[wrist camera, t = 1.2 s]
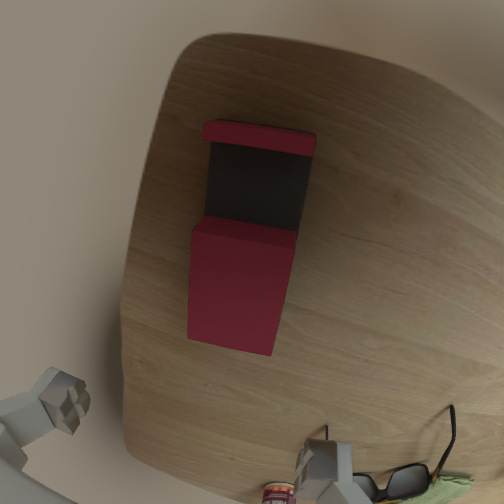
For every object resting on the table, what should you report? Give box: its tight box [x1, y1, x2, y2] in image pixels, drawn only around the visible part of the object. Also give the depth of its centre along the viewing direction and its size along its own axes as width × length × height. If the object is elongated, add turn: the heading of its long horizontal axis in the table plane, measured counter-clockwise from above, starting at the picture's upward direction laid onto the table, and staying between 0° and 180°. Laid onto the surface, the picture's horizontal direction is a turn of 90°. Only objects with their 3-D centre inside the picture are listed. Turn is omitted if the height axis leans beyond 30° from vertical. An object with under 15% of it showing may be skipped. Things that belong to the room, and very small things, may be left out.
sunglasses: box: [326, 405, 456, 504], centre depth 29 cm, size 14×15×5 cm
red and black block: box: [188, 119, 316, 356], centre depth 20 cm, size 14×6×4 cm, turn 172°
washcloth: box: [378, 476, 475, 504], centre depth 35 cm, size 13×18×3 cm
